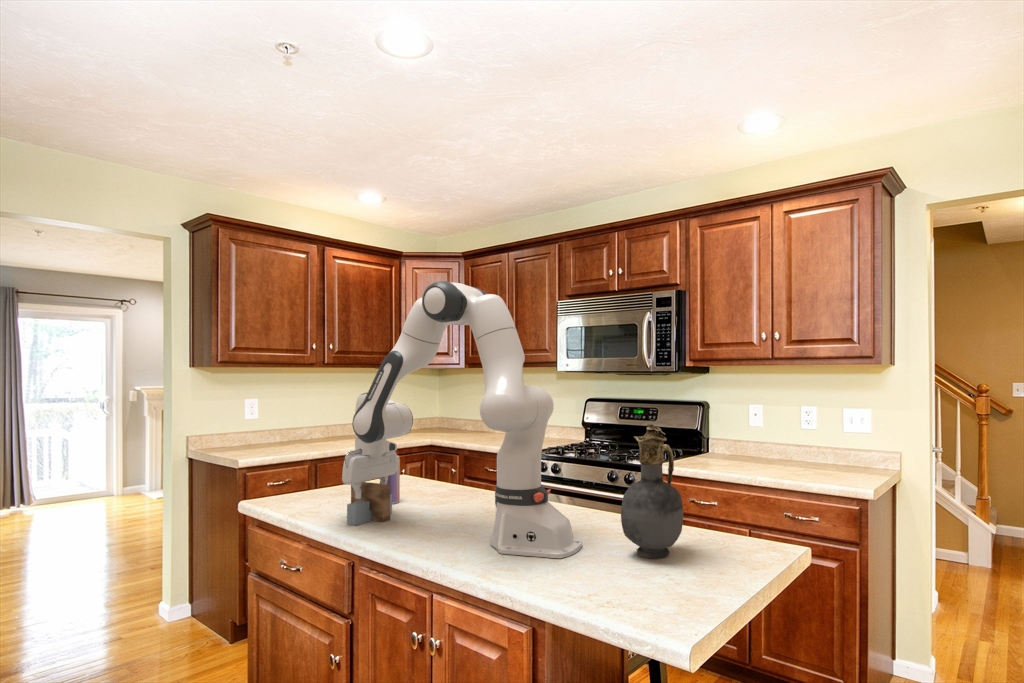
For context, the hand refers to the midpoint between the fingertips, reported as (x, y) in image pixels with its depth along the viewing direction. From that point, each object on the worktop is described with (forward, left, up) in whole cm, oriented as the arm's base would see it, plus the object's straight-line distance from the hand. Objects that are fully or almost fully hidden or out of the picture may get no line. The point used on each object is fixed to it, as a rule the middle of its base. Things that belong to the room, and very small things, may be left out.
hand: (370, 495), depth 174 cm
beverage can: (+8, -19, -7) cm, 22 cm away
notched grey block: (0, 0, -7) cm, 7 cm away
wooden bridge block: (0, 0, -7) cm, 7 cm away
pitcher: (-82, -5, -7) cm, 82 cm away
